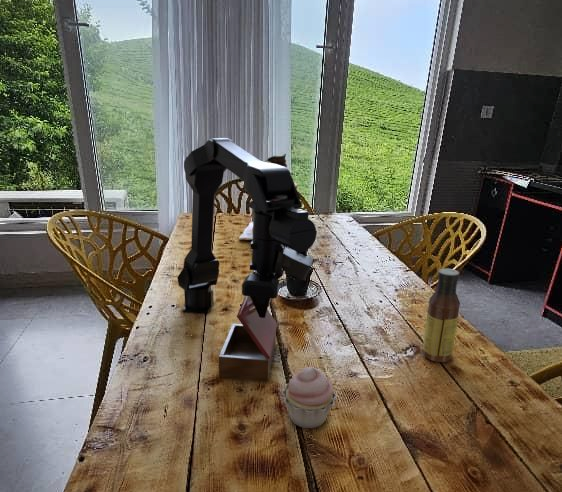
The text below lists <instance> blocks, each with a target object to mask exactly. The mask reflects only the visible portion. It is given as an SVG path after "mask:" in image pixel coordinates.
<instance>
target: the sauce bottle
mask: <svg viewBox="0 0 562 492" xmlns="http://www.w3.org/2000/svg"><path fill="white" fill-rule="evenodd" d="M459 279H460V271H458V270H456V269H453V268H449V267H448V268H440V269H438V271H437V285H436V290H435V291H434V293H432V295H431V296H429V300H428V308H427V312H426V318H425V319H426V320H425V326H424V327H425V328H424V336H423V344H422V353H423V355H424V356H425V358H426V359H427V360H430V361H432V362H436V363H447V362H449V361H450V360H451V359H452V355H453V352H454V348H455V343H456V342H455V341H456V335H457V330H458V329H457V328H458V322H459V313H460V312H459V311H460V306H461V302H460V300H459V297H458V294H457V285H458V280H459Z"/></svg>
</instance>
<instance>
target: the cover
mask: <svg viewBox="0 0 562 492" xmlns="http://www.w3.org/2000/svg"><path fill="white" fill-rule="evenodd" d="M271 301H272V298H270V301H269V305H268V308H269V307H270V304H271ZM236 318H237V319H238V321H239V322H240V324H242V325H243V326H244V328H245V329H246V331H247V332H248V333H249V335H250V336H251V338H252V339H253V341H254V342H255V343H256V345H257V346H258V348H259V349H260V350H261V352H262V353H263V355H264V356H265V358H266V359H268V358H270V355H271V351H272V346H273V342H274V337H275V333H277V327H278V323H277V322H276V319H275V318H274V317H273V315H272V314H271V312H270V311H269V309H267V312H266V316H265V318H260V317H259V315H258V313H257V311H256V308H255V306H254V304H253V302H252V300H251V298H250V296H244V298H243V301H242V302H241V305H240V307H239V309H238V312H237V314H236ZM275 338H276V337H275Z"/></svg>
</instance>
